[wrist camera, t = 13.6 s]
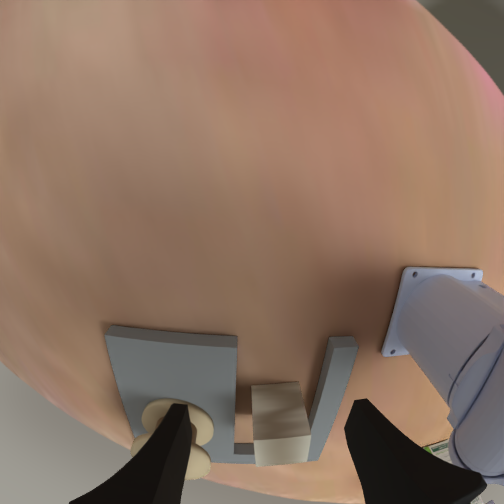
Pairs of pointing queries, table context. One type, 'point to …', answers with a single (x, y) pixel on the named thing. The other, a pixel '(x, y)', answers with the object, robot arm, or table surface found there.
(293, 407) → the block
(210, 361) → the notched board
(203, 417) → the spool
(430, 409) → the table surface
